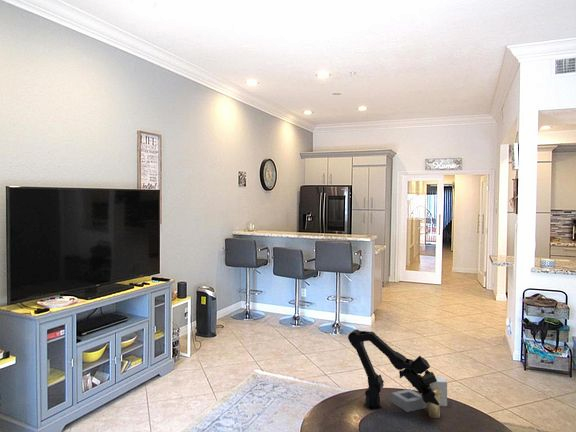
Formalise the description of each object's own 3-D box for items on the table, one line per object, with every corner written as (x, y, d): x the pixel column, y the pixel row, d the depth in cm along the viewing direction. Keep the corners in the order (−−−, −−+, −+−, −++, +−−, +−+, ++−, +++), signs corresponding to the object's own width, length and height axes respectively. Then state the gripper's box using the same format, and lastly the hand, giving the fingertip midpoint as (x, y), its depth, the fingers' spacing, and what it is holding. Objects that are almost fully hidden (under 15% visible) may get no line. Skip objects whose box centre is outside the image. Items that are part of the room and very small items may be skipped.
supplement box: (443, 400, 216) (443, 376, 216) (447, 406, 208) (447, 382, 208) (429, 399, 216) (429, 375, 217) (432, 405, 209) (432, 381, 209)
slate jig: (406, 412, 202) (406, 402, 202) (391, 402, 213) (391, 392, 213) (425, 408, 207) (425, 398, 207) (409, 398, 218) (409, 389, 218)
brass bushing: (434, 419, 194) (434, 392, 195) (425, 414, 200) (425, 387, 200) (443, 417, 197) (443, 390, 197) (434, 412, 202) (434, 385, 203)
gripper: (430, 374, 190) (455, 399, 188) (422, 360, 208) (444, 383, 207) (413, 390, 191) (437, 415, 189) (406, 375, 209) (428, 398, 208)
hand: (437, 402), depth 198 cm, fingers closed on brass bushing, 5 cm apart
